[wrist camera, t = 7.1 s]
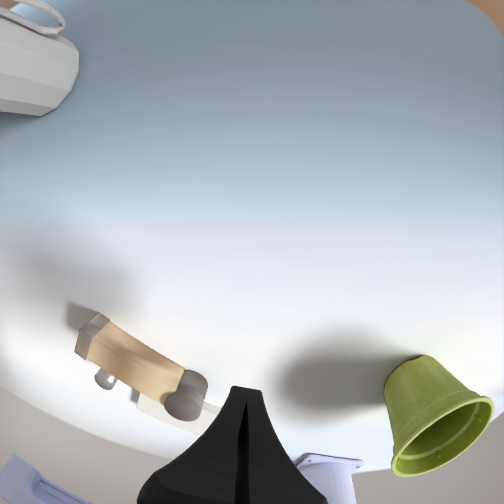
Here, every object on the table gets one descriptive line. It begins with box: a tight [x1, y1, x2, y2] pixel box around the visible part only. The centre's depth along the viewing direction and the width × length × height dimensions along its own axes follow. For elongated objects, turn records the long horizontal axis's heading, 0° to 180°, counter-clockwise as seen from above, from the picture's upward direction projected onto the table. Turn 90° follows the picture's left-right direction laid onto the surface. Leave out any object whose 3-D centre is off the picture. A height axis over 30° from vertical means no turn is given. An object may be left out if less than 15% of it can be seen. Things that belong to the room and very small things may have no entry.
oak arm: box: [74, 313, 208, 421], centre depth 21 cm, size 12×3×4 cm, turn 58°
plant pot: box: [384, 356, 494, 477], centre depth 18 cm, size 9×9×9 cm
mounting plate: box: [136, 393, 222, 436], centre depth 24 cm, size 4×8×1 cm, turn 66°
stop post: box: [95, 368, 118, 390], centre depth 22 cm, size 2×2×4 cm
